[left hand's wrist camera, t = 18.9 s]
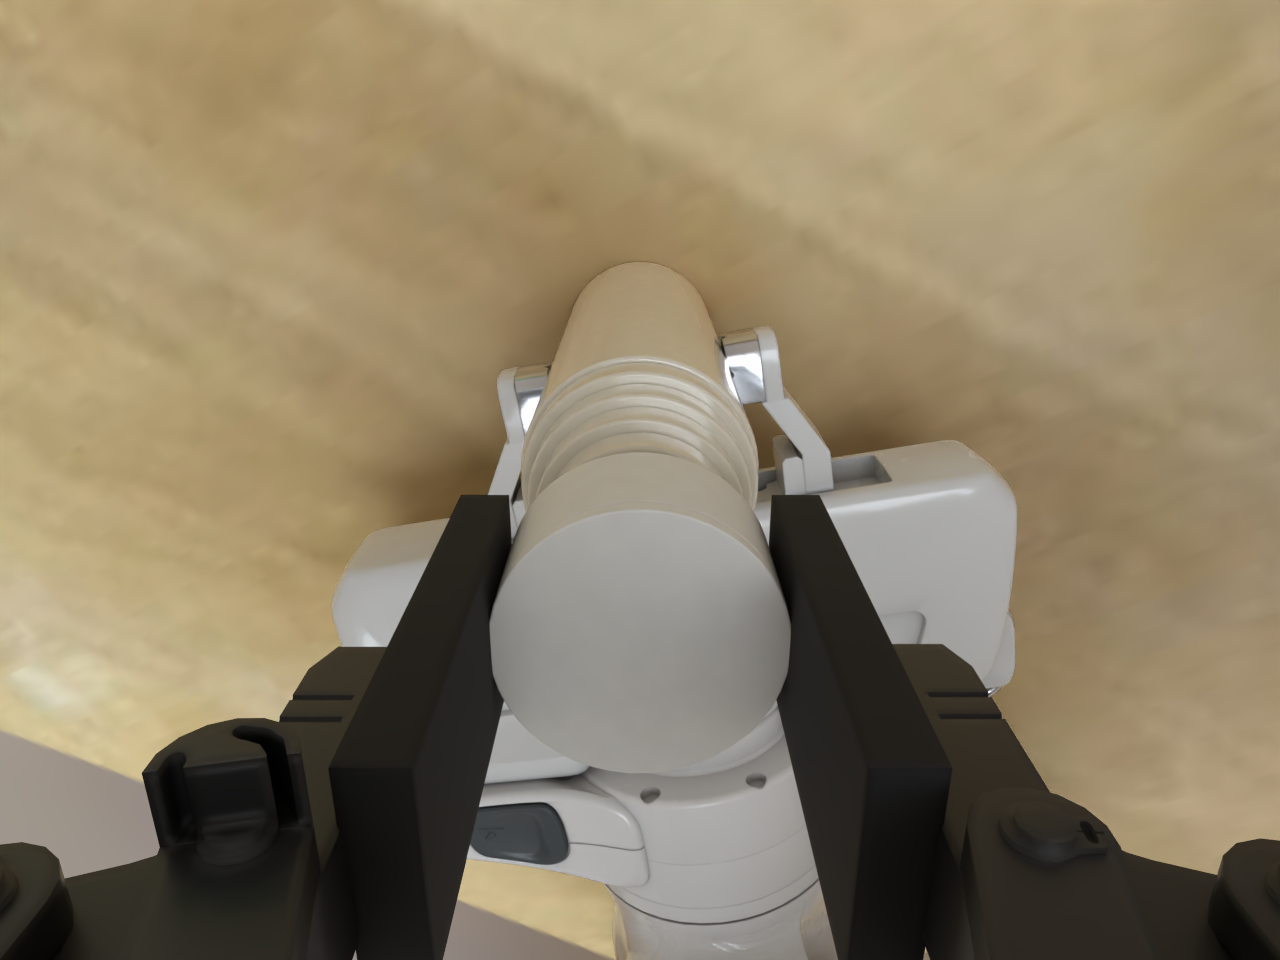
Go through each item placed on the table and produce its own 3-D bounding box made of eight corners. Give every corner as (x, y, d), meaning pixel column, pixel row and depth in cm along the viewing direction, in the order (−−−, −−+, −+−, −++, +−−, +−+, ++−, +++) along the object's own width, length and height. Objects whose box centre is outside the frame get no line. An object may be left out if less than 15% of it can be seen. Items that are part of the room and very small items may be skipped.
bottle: (671, 424, 33) (714, 813, 14) (546, 366, 32) (416, 697, 13) (735, 300, 31) (878, 555, 13) (605, 236, 31) (550, 406, 12)
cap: (602, 399, 14) (594, 450, 11) (823, 542, 14) (855, 614, 12) (461, 605, 15) (431, 685, 13) (672, 725, 16) (677, 818, 14)
